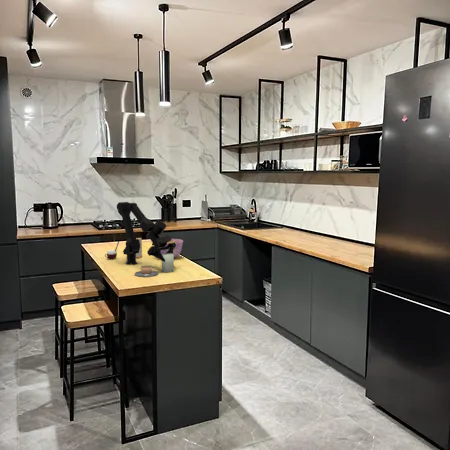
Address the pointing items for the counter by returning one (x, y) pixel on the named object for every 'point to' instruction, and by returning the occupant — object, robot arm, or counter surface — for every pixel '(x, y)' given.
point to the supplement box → (139, 255)
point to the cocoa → (112, 253)
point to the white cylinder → (168, 262)
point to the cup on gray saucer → (146, 272)
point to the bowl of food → (177, 249)
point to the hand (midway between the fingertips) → (169, 260)
